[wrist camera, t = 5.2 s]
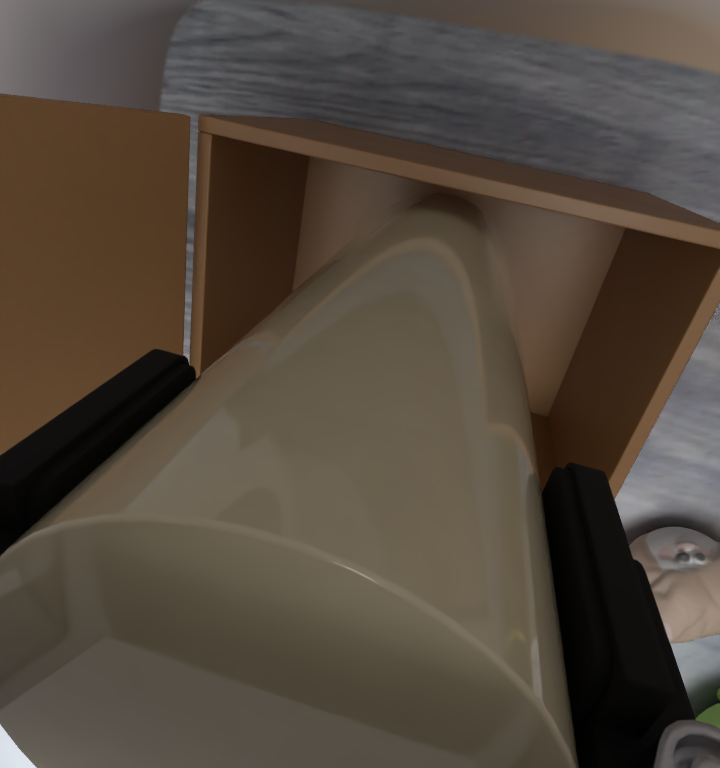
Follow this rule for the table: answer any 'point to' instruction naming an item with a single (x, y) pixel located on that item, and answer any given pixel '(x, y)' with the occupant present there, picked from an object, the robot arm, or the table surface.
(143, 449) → the beige cylinder rod
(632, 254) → the carton
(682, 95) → the table surface
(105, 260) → the flap
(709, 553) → the garlic bulb
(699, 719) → the teapot
